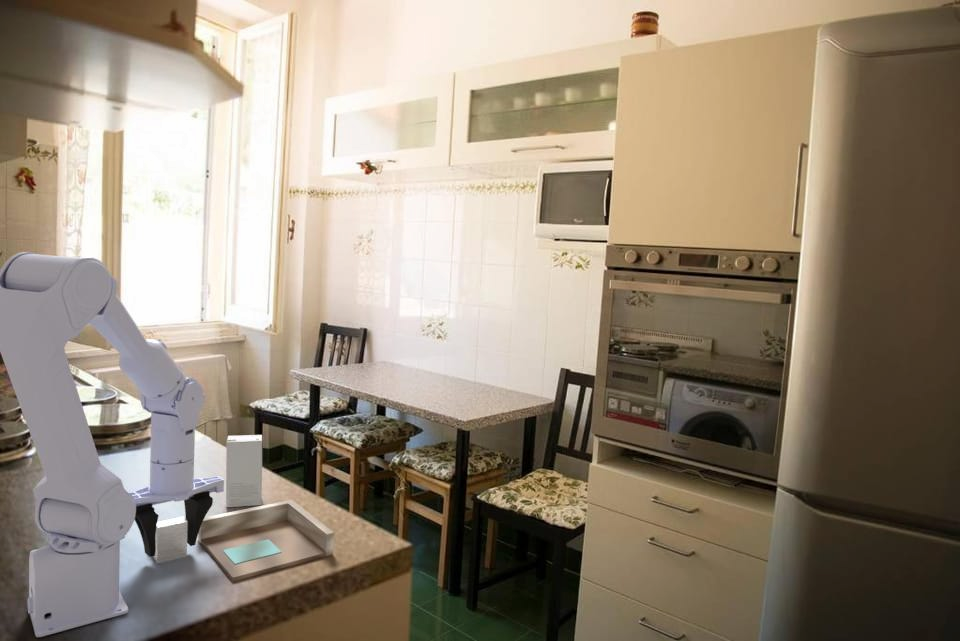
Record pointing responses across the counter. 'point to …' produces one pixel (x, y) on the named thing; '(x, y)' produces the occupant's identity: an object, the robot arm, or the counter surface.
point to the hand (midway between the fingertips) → (170, 548)
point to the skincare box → (244, 470)
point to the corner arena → (264, 539)
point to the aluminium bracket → (171, 540)
